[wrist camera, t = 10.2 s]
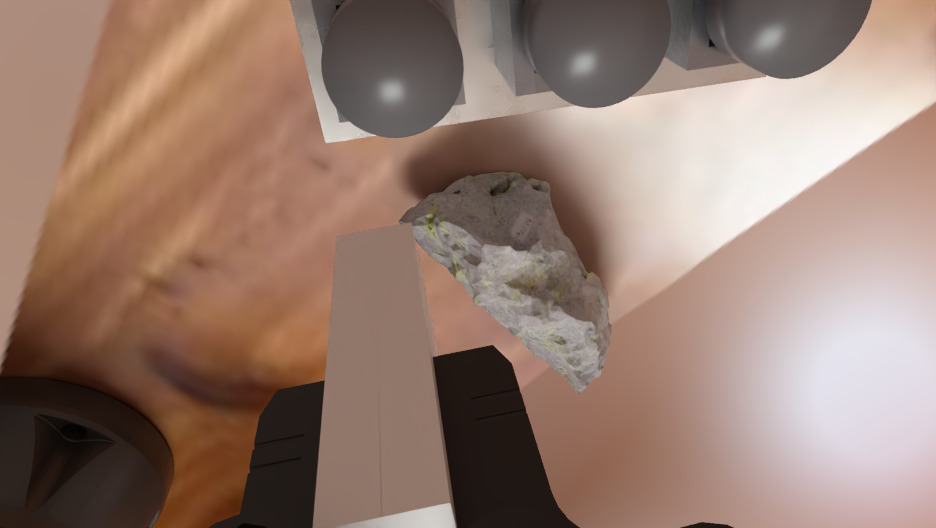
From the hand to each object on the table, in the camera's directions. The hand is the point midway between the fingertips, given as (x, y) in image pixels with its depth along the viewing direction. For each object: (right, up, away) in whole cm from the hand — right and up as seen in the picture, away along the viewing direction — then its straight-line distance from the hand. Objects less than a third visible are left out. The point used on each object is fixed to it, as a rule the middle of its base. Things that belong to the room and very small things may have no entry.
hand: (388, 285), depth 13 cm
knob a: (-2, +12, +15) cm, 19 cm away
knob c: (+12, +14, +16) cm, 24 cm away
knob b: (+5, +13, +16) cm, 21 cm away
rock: (+4, +1, +24) cm, 24 cm away
